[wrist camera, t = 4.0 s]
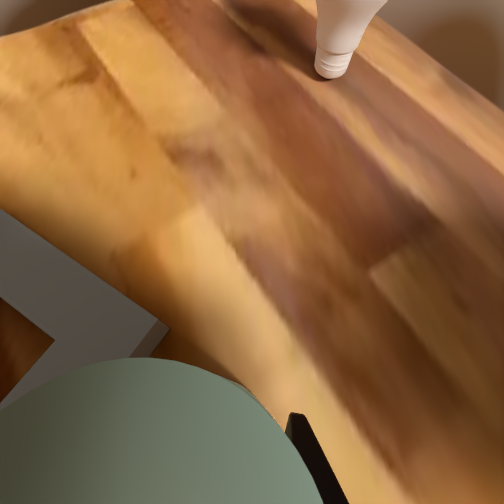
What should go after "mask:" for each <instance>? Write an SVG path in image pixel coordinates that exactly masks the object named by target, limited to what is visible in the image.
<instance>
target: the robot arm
mask: <svg viewBox="0 0 504 504" xmlns="http://www.w3.org/2000/svg"><path fill="white" fill-rule="evenodd" d="M285 434H286V436H287V437H288V438H289V440H290V441H291V442H292V444H293V445H294V447H295V448H296V449H297V451H298V453H299V454H300V456H301V458H302V460H303V462H304V463H305V465H306V467H307V469H308V471H309V472H310V474H311V476H312V478H313V480H314V482H315V485H316V487H317V489H318V492H319V494H320V497H321V499H322V501H323V504H349V502H348V500H347V498H346V496H345V494H344V492H343V490H342V488H341V486H340V484H339V482H338V480H337V478H336V476H335V474H334V472H333V470H332V468H331V466H330V464H329V462H328V460H327V458H326V456H325V454H324V452H323V450H322V448H321V446H320V444H319V442H318V440H317V438H316V436H315V434H314V432H313V430H312V428H311V426H310V424H309V422H308V420H307V418H306V417H305V415H303V414H299V413H294V412H291V413H290V414H289V418H288V422H287V426H286V430H285Z"/></svg>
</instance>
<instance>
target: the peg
mask: <svg viewBox="0 0 504 504" xmlns="http://www.w3.org/2000/svg"><path fill="white" fill-rule="evenodd" d="M0 504H323V501H322V499H321V497H320V494H319V492H318V489H317V487H316V485H315V482H314V480H313V478H312V476H311V474H310V472H309V471H308V469H307V467H306V465H305V463H304V462H303V460H302V458H301V456H300V454H299V453H298V451H297V449H296V448H295V447H294V445H293V444H292V442H291V441H290V440H289V438H288V437H287V436H286V434H285V433H284V431H283V430H282V429H281V427H280V426H279V425H278V424H277V422H276V421H275V420H274V419H273V418H272V416H271V415H270V414H269V413H268V412H267V410H266V409H265V408H264V407H263V406H262V404H261V403H260V402H259V401H258V400H257V398H256V397H255V396H254V395H253V394H252V393H251V392H250V391H249V390H248V389H247V388H245V387H244V386H242V385H241V384H238V383H236V382H234V381H231V380H229V379H226V378H224V377H221V376H219V375H216V374H214V373H211V372H209V371H206V370H204V369H201V368H199V367H196V366H192V365H189V364H185V363H181V362H178V361H174V360H166V359H158V358H122V359H116V360H109V361H102V362H98V363H95V364H91V365H88V366H84V367H81V368H77V369H74V370H72V371H70V372H67V373H65V374H62V375H60V376H58V377H55V378H53V379H50V380H49V381H47V382H45V383H43V384H41V385H40V386H38V387H36V388H34V389H32V390H31V391H29V392H27V393H25V394H24V395H23V396H21V397H20V398H18V399H17V400H15V401H14V402H13V403H11V404H10V405H8V406H7V407H5V408H4V409H3V410H1V411H0Z"/></svg>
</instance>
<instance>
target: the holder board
mask: <svg viewBox="0 0 504 504" xmlns="http://www.w3.org/2000/svg"><path fill="white" fill-rule="evenodd" d="M0 297H1V298H2V299H3V300H5V301H6V302H7V303H8V304H10V305H11V306H12V307H13V308H15V309H16V310H17V311H19V312H20V313H21V314H22V315H24V316H25V317H26V318H27V319H29V320H30V321H31V322H33V323H34V324H35V325H36V326H38V327H39V328H40V329H41V330H43V331H44V332H45V333H47V334H48V335H49V336H50V337H52V338H53V339H54V340H55V341H54V342H53V343H52V345H51V346H50V347H49V348H48V349H47V350H46V351H45V353H44V354H43V355H42V356H41V357H40V358H39V359H38V361H37V362H36V363H35V364H34V365H33V366H32V367H31V369H30V370H29V371H28V372H27V373H26V374H25V375H24V376H23V378H22V379H21V380H20V381H19V382H18V383H17V384H16V386H15V387H14V388H13V389H12V390H11V391H10V392H9V394H8V395H7V396H6V397H5V398H4V399H3V400H2V402H1V403H0V411H1V410H3V409H4V408H5V407H7V406H8V405H10V404H11V403H13V402H14V401H15V400H17V399H18V398H20V397H21V396H23V395H24V394H25V393H27V392H29V391H31V390H32V389H34V388H36V387H38V386H40V385H41V384H43V383H45V382H47V381H49V380H50V379H53V378H55V377H58V376H60V375H62V374H65V373H67V372H70V371H72V370H74V369H77V368H81V367H84V366H88V365H91V364H95V363H98V362H102V361H109V360H116V359H122V358H149V356H150V355H151V354H152V352H153V351H154V350H155V348H156V347H157V346H158V344H159V343H160V342H161V340H162V339H163V337H164V336H165V335H166V333H167V332H168V331H169V329H170V328H169V327H168V326H167V325H165V324H164V323H163V322H161V321H160V320H159V319H157V318H156V317H155V316H153V315H152V314H150V313H149V312H147V311H146V310H145V309H143V308H142V307H140V306H139V305H137V304H136V303H135V302H133V301H132V300H130V299H129V298H127V297H126V296H125V295H123V294H122V293H120V292H119V291H117V290H116V289H115V288H113V287H112V286H110V285H109V284H107V283H106V282H105V281H103V280H102V279H100V278H99V277H97V276H96V275H95V274H93V273H92V272H90V271H89V270H87V269H86V268H85V267H83V266H82V265H80V264H79V263H77V262H76V261H75V260H73V259H72V258H70V257H69V256H68V255H66V254H65V253H63V252H62V251H60V250H59V249H58V248H56V247H55V246H53V245H52V244H50V243H49V242H48V241H46V240H45V239H43V238H42V237H40V236H39V235H38V234H36V233H35V232H33V231H32V230H30V229H29V228H28V227H26V226H25V225H23V224H22V223H20V222H19V221H18V220H16V219H15V218H13V217H12V216H10V215H9V214H8V213H6V212H5V211H3V210H2V209H0Z"/></svg>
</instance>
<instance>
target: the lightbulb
mask: <svg viewBox="0 0 504 504" xmlns="http://www.w3.org/2000/svg"><path fill="white" fill-rule="evenodd" d="M387 1H388V0H316V4H317V12H318V25H317V32H316V41H317V44H318V45H317V49H316V55H315V64H314V67H315V69H316V71H317V73H318V74H320V75H321V76H323V77H324V78H326V79H331V78H337V77H340V76H341V75H343V74H344V73H345V71H346V69H347V66H348V64H349V61H350V59H351V56H352V54H353V51H354V50H355V49H356V48H357V46H358V45H359V43H360V40H361V38H362V35H363V33H364V31H365V29H366V27H367V25H368V23H369V22H370V21H371V19H372V18H373V16H374V15H375V14H376V12H377V11H378V10H379V9H380V8H381V7H382V6H383V5H384V4H385V3H386V2H387Z"/></svg>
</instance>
